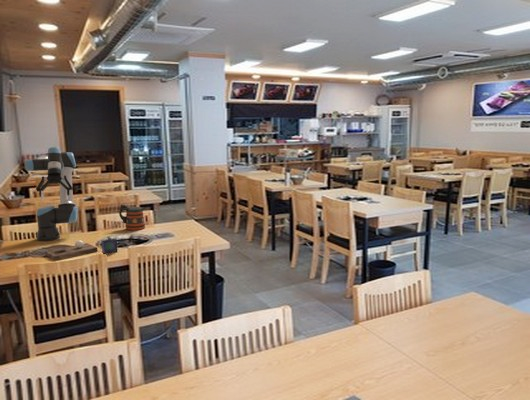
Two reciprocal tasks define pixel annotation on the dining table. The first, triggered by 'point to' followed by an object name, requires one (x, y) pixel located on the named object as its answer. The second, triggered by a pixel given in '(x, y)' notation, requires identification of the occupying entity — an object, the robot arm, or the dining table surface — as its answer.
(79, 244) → the ball
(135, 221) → the beer stein
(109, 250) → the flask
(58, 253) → the board
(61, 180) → the robot arm
